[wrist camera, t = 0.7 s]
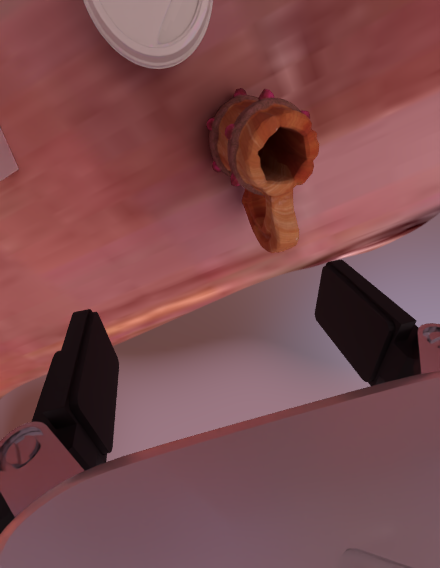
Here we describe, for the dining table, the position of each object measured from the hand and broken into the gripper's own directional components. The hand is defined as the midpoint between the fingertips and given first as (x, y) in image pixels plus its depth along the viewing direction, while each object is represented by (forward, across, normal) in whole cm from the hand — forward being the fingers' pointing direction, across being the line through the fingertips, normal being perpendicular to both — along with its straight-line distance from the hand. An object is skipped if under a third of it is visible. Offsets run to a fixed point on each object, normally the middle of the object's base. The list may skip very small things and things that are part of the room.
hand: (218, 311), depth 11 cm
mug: (+28, -9, 0) cm, 29 cm away
